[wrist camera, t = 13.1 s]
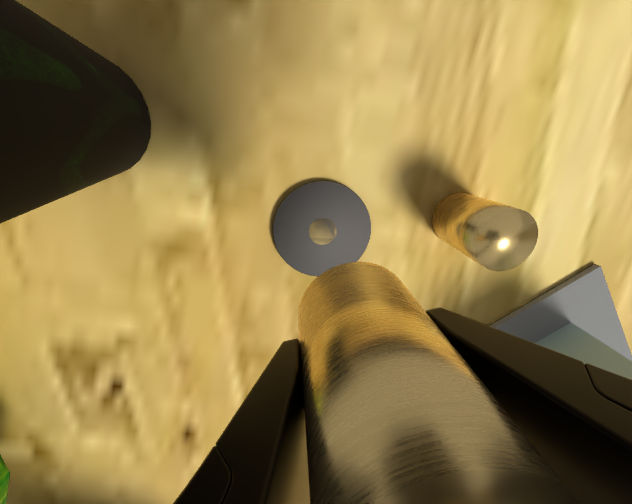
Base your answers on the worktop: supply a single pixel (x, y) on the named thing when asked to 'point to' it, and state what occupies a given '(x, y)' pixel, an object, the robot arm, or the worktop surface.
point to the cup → (60, 114)
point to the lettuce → (3, 481)
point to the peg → (403, 405)
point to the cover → (587, 350)
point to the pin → (486, 230)
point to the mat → (570, 312)
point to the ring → (321, 227)
